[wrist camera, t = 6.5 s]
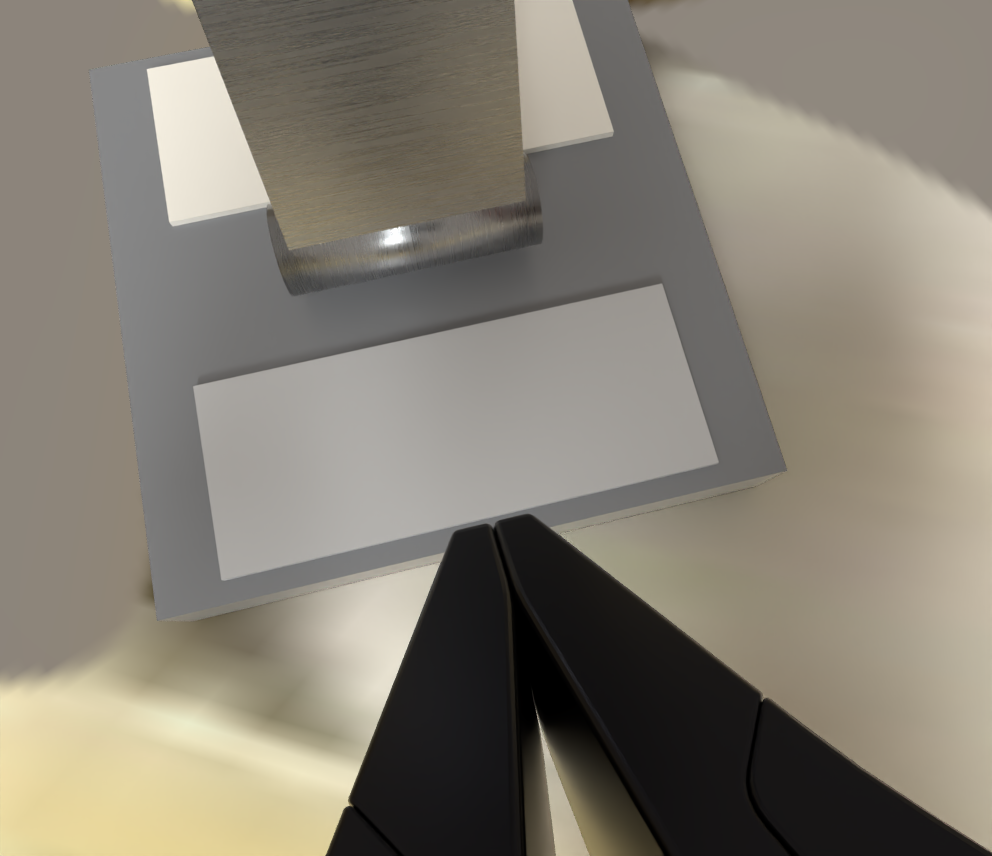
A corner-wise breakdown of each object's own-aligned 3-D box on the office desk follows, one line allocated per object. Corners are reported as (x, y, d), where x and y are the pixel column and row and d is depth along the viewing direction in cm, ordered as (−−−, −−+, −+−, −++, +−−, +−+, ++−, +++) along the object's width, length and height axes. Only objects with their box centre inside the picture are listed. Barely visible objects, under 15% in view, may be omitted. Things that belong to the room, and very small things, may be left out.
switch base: (756, 486, 19) (793, 467, 17) (193, 621, 18) (150, 620, 16) (606, 26, 22) (619, -42, 20) (125, 119, 21) (82, 60, 19)
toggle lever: (546, 268, 17) (519, -548, 8) (298, 321, 17) (-31, -471, 7) (521, 203, 18) (473, -552, 9) (292, 251, 18) (8, -487, 9)
